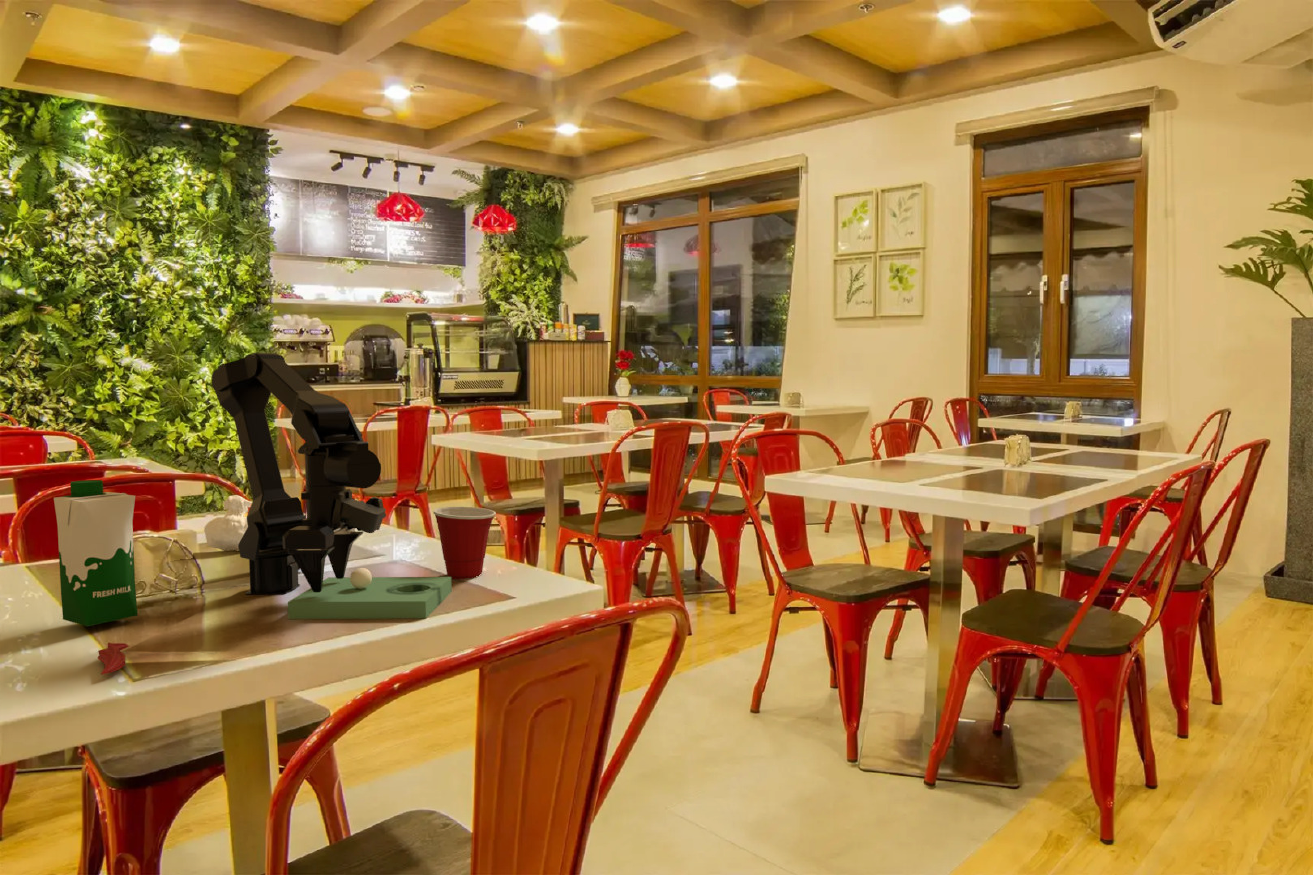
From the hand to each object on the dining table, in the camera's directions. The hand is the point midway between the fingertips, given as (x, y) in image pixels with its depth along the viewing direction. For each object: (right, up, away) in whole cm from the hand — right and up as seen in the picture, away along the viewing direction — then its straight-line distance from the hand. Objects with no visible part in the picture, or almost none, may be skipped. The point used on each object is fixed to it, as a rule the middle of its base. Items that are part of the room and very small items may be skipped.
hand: (329, 585), depth 137 cm
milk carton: (-31, -4, -7) cm, 32 cm away
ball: (+5, +1, 0) cm, 5 cm away
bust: (-36, -1, +45) cm, 57 cm away
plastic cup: (+17, -2, +19) cm, 26 cm away
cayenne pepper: (-18, -6, -25) cm, 31 cm away
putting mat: (+7, -3, 0) cm, 8 cm away
